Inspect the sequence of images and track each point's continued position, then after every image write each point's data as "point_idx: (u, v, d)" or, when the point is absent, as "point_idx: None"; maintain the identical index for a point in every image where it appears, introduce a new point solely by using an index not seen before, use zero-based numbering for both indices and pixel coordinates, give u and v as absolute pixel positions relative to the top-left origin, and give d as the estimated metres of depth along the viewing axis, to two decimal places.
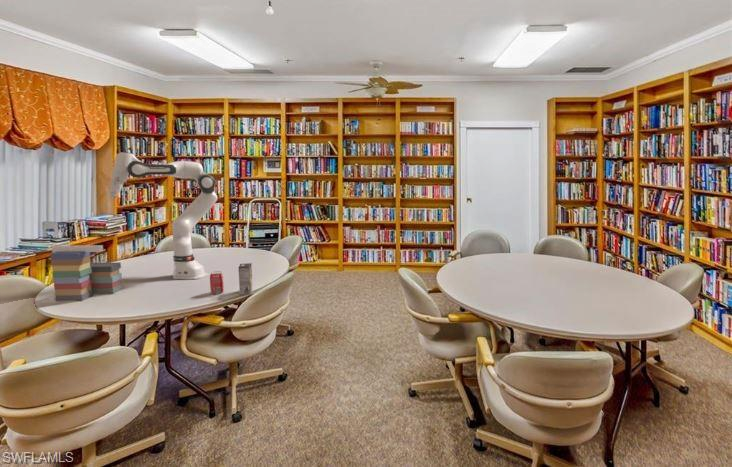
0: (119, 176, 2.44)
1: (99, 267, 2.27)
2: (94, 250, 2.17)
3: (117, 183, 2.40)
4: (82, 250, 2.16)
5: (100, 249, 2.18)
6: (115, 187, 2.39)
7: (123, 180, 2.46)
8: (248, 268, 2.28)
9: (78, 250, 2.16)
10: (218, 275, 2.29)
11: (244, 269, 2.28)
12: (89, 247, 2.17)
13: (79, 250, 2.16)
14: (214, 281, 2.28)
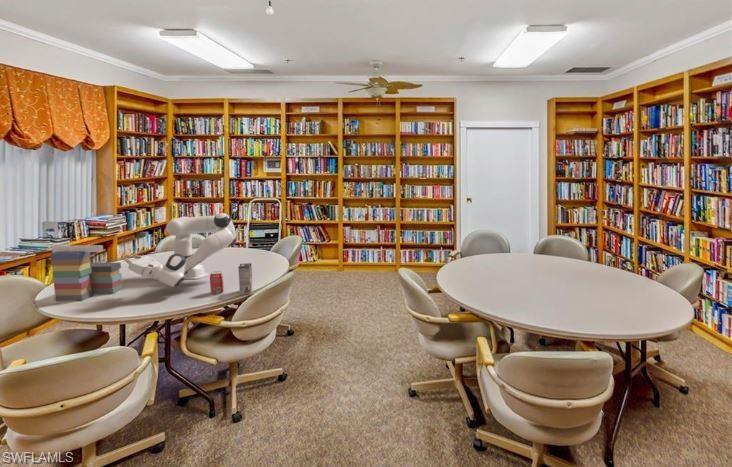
0: None
1: (99, 267, 2.27)
2: (94, 250, 2.17)
3: None
4: (82, 250, 2.16)
5: (100, 249, 2.18)
6: None
7: None
8: (248, 268, 2.28)
9: (78, 250, 2.16)
10: (218, 275, 2.29)
11: (244, 269, 2.28)
12: (89, 247, 2.17)
13: (79, 250, 2.16)
14: (214, 281, 2.28)
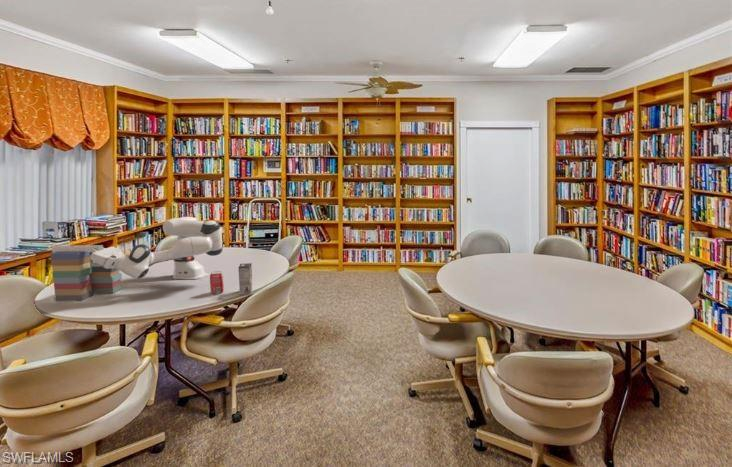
0: None
1: (99, 267, 2.27)
2: None
3: None
4: (82, 250, 2.16)
5: (100, 249, 2.18)
6: None
7: None
8: (248, 268, 2.28)
9: (78, 250, 2.16)
10: (218, 275, 2.29)
11: (244, 269, 2.28)
12: (89, 247, 2.17)
13: (79, 250, 2.16)
14: (214, 281, 2.28)
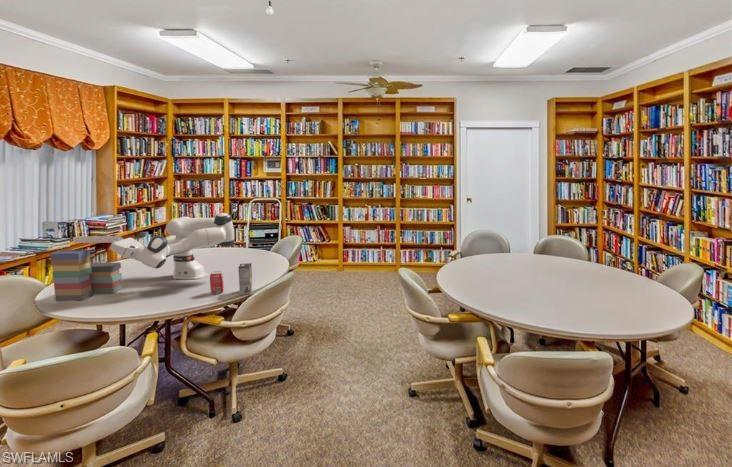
0: None
1: (99, 267, 2.27)
2: None
3: None
4: (102, 240, 2.23)
5: (119, 240, 2.24)
6: None
7: None
8: (248, 268, 2.28)
9: (98, 241, 2.23)
10: (218, 275, 2.29)
11: (244, 269, 2.28)
12: (108, 238, 2.23)
13: (99, 241, 2.23)
14: (214, 281, 2.28)
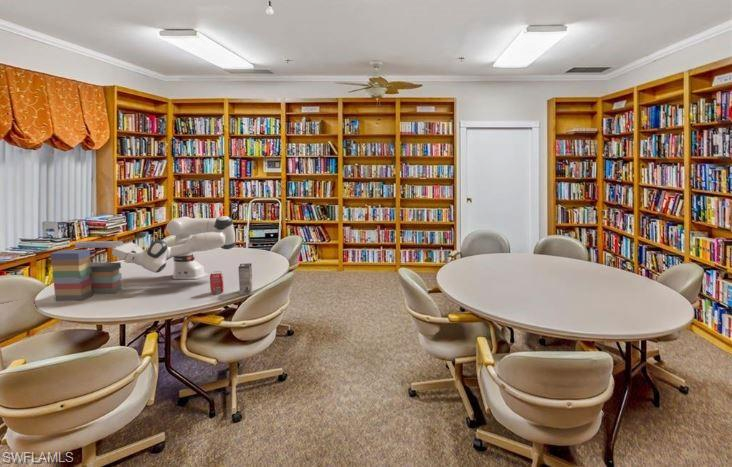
0: None
1: (99, 267, 2.27)
2: None
3: None
4: (103, 245, 2.29)
5: (120, 245, 2.30)
6: None
7: None
8: (248, 268, 2.28)
9: (100, 246, 2.28)
10: (218, 275, 2.29)
11: (244, 269, 2.28)
12: (110, 243, 2.29)
13: (101, 246, 2.28)
14: (214, 281, 2.28)
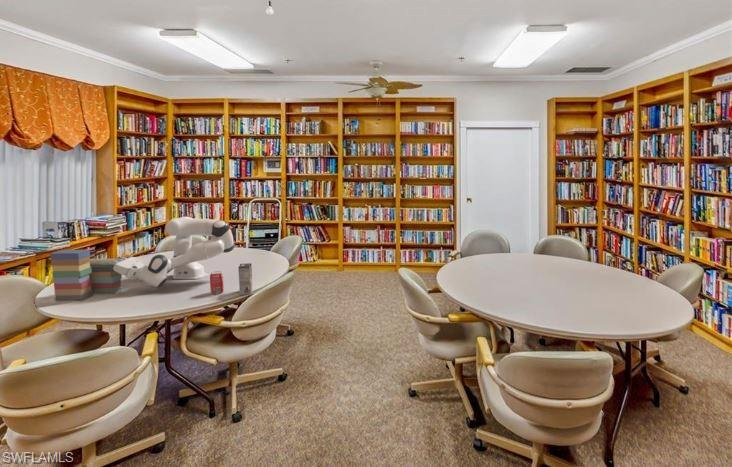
0: None
1: (99, 267, 2.27)
2: None
3: None
4: (105, 263, 2.30)
5: None
6: None
7: None
8: (248, 268, 2.28)
9: (101, 263, 2.30)
10: (218, 275, 2.29)
11: (244, 269, 2.28)
12: None
13: (102, 263, 2.30)
14: (214, 281, 2.28)
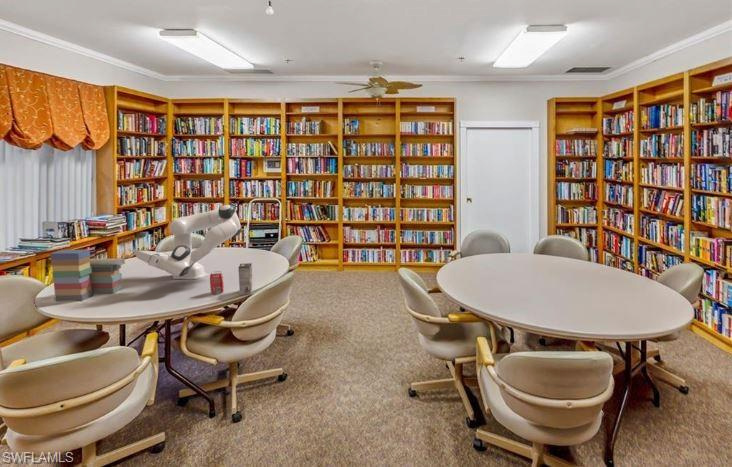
0: None
1: (99, 267, 2.27)
2: (116, 263, 2.31)
3: None
4: (105, 263, 2.30)
5: (122, 262, 2.32)
6: None
7: None
8: (248, 268, 2.28)
9: (101, 263, 2.30)
10: (218, 275, 2.29)
11: (244, 269, 2.28)
12: (112, 260, 2.30)
13: (102, 263, 2.30)
14: (214, 281, 2.28)
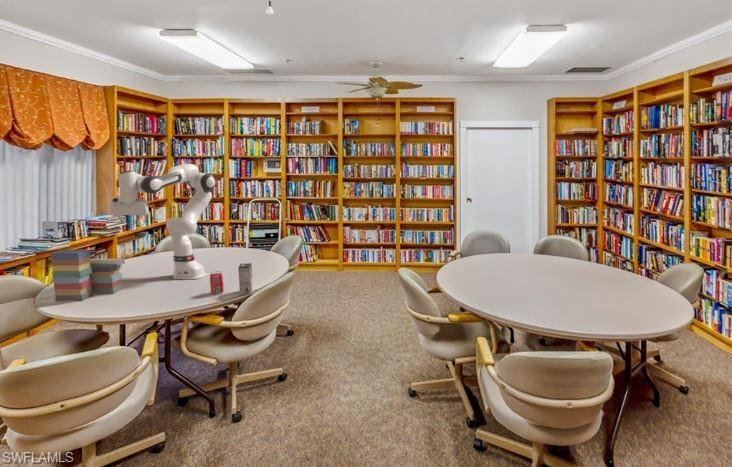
0: None
1: (99, 267, 2.27)
2: (116, 263, 2.31)
3: None
4: (105, 263, 2.30)
5: (122, 262, 2.32)
6: (147, 208, 2.37)
7: None
8: (248, 268, 2.28)
9: (101, 263, 2.30)
10: (218, 275, 2.29)
11: (244, 269, 2.28)
12: (112, 260, 2.30)
13: (102, 263, 2.30)
14: (214, 281, 2.28)
